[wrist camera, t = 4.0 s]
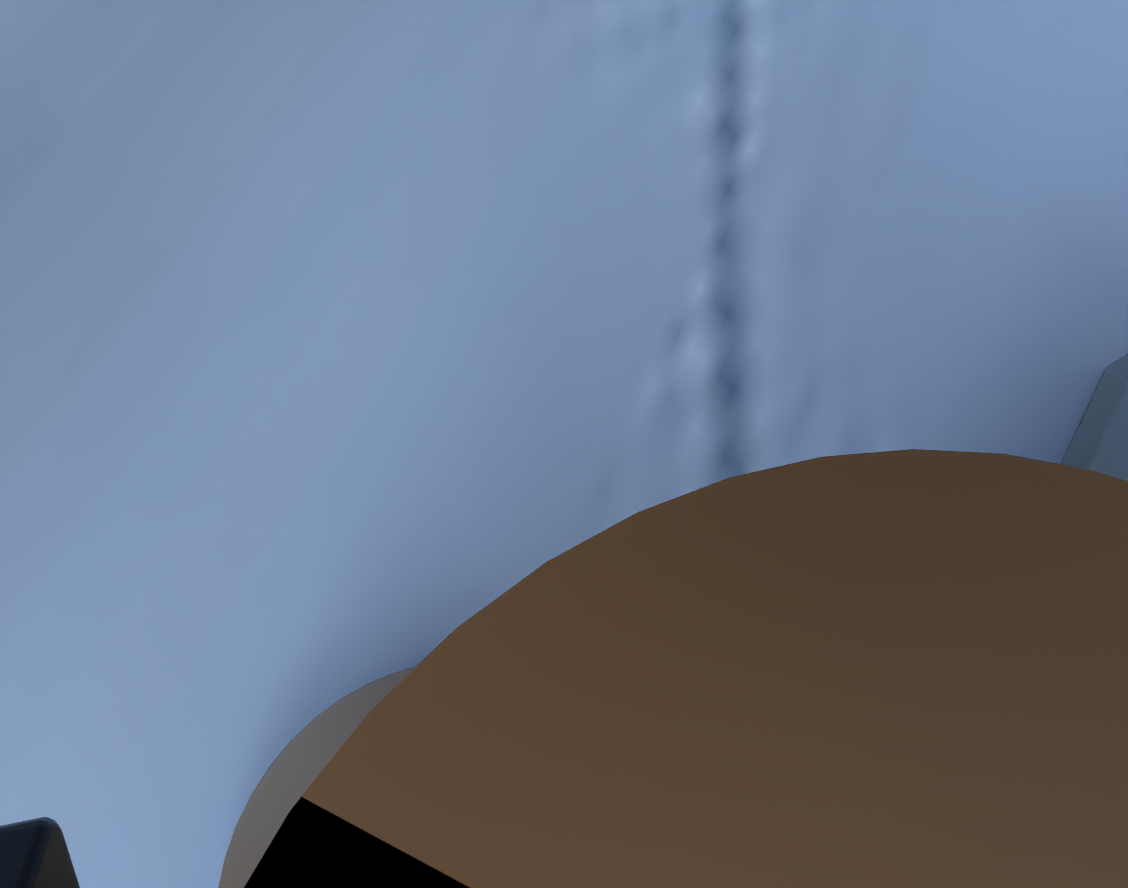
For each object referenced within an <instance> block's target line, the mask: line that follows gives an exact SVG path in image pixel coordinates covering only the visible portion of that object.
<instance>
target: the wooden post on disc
mask: <svg viewBox="0 0 1128 888" xmlns="http://www.w3.org/2000/svg"><path fill="white" fill-rule="evenodd" d="M219 888H1128V481H1125V480H1122V479H1119V478H1116V477H1112V476H1109V475H1106V474H1103V473H1100V472H1097V471H1093V470H1088V469H1083V468H1077V467H1072V466H1066V465H1061V464H1056V463H1050V462H1045V461H1039V460H1034V459H1028V458H1023V457H1018V456H1012V455H1007V454H995V453H975V452H956V451H937V450H917V449H911V450H899V451H887V452H875V453H863V454H851V455H839V456H827V457H819V458H815V459H810V460H806V461H801V462H797V463H793V464H788V465H784V466H779V467H775V468H770V469H766V470H762V471H757V472H753V473H748V474H744V475H739V476H735V477H731V478H728V479H725V480H722V481H720V482H717V483H714V484H712V485H709V486H706V487H704V488H701V489H698V490H696V491H693V492H690V493H688V494H685V495H683V496H680V497H677V498H675V499H672V500H669V501H667V502H664V503H661V504H659V505H656V506H653V507H651V508H648V509H645V510H643V511H640V512H638V513H636V514H634V515H632V516H630V517H628V518H627V519H625V520H623V521H621V522H619V523H617V524H616V525H614V526H612V527H610V528H608V529H606V530H605V531H603V532H601V533H599V534H597V535H595V536H594V537H592V538H590V539H588V540H586V541H584V542H583V543H581V544H579V545H577V546H575V547H573V548H572V549H570V550H568V551H566V552H564V553H562V554H561V555H559V556H557V557H555V558H553V559H551V560H550V561H548V562H546V563H545V564H543V565H542V566H541V567H539V568H538V569H536V570H535V571H534V572H532V573H531V574H530V575H528V576H527V577H526V578H524V579H523V580H522V581H520V582H519V583H517V584H516V585H515V586H513V587H512V588H511V589H509V590H508V591H507V592H505V593H504V594H502V595H501V596H500V597H498V598H497V599H496V600H494V601H493V602H492V603H490V604H489V605H488V606H486V607H485V608H483V609H482V610H481V611H479V612H478V613H477V614H475V615H474V616H473V617H471V618H470V619H469V620H467V621H466V622H464V623H463V624H462V625H460V626H459V627H458V628H456V629H455V630H454V631H453V632H452V633H451V634H450V635H449V636H448V637H447V638H446V639H445V640H444V641H443V642H442V643H441V644H440V645H439V646H438V647H437V648H436V649H435V650H433V651H432V652H431V653H430V654H429V655H428V656H427V657H426V658H425V659H424V660H423V661H422V662H421V663H420V664H419V665H418V666H417V667H415V668H411V669H407V670H403V671H399V672H396V673H394V674H391V675H389V676H386V677H384V678H381V679H379V680H376V681H374V682H371V683H369V684H367V685H365V686H363V687H362V688H360V689H358V690H356V691H354V692H353V693H351V694H349V695H347V696H345V697H344V698H342V699H340V700H339V701H338V702H336V703H335V704H334V705H332V706H331V707H329V708H328V709H327V710H325V711H324V712H323V713H321V714H320V715H319V716H317V717H316V718H315V719H314V720H313V721H312V722H310V723H309V724H308V725H307V726H306V727H305V728H304V729H303V730H302V731H301V732H300V733H299V734H298V735H297V736H296V737H295V738H293V739H292V740H291V742H290V743H289V744H288V745H287V746H286V748H285V749H284V750H283V751H282V752H281V754H280V755H279V756H278V757H277V758H276V760H275V761H274V762H273V763H272V764H271V766H270V767H269V769H268V770H267V772H266V773H265V775H264V776H263V778H262V779H261V781H260V783H259V784H258V786H257V787H256V789H255V790H254V792H253V793H252V795H251V797H250V799H249V801H248V803H247V805H246V807H245V809H244V811H243V813H242V815H241V817H240V820H239V822H238V824H237V826H236V828H235V831H234V834H233V837H232V840H231V843H230V846H229V849H228V851H227V854H226V857H225V860H224V865H223V870H222V874H221V879H220V883H219Z"/></svg>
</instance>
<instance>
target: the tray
mask: <svg viewBox="0 0 1128 888" xmlns="http://www.w3.org/2000/svg"><path fill="white" fill-rule="evenodd" d="M1061 465H1066V466H1072V467H1077V468H1083V469H1088V470H1093V471H1097V472H1100V473H1103V474H1106V475H1109V476H1112V477H1116V478H1119V479H1122V480H1125V481H1128V354H1127V355H1125V356H1124V357H1122V358H1120V359H1119V360H1117V361H1115V362H1114V363H1112V364H1110V365H1109V366H1107V367H1106V370H1105V372H1104V374H1103V376H1102V378H1101V380H1100V382H1099V384H1098V387H1097V389H1096V391H1095V393H1094V395H1093V397H1092V399H1091V401H1090V404H1089V406H1088V408H1087V410H1086V412H1085V414H1084V416H1083V419H1082V421H1081V423H1080V425H1079V427H1078V429H1077V431H1076V433H1075V436H1074V438H1073V440H1072V442H1071V444H1070V446H1069V448H1068V450H1067V453H1066V455H1065V457H1064V459H1063V461H1062V463H1061Z"/></svg>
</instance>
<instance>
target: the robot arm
mask: <svg viewBox="0 0 1128 888" xmlns="http://www.w3.org/2000/svg"><path fill="white" fill-rule="evenodd" d="M0 888H80V887H79V883H78V880H77V877H76V874H75V871H74V867H73V864H72V861H71V858H70V855H69V852H68V848H67V845H66V842H65V839H64V836H63V833H62V830H61V828H60V827H59V825H58V824H57V822H56V821H55V820H52V819H50V818H47V817H42V818H37V819H32V820H27V821H22V822H17V823H12V824H8V825H3V826H0Z"/></svg>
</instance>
